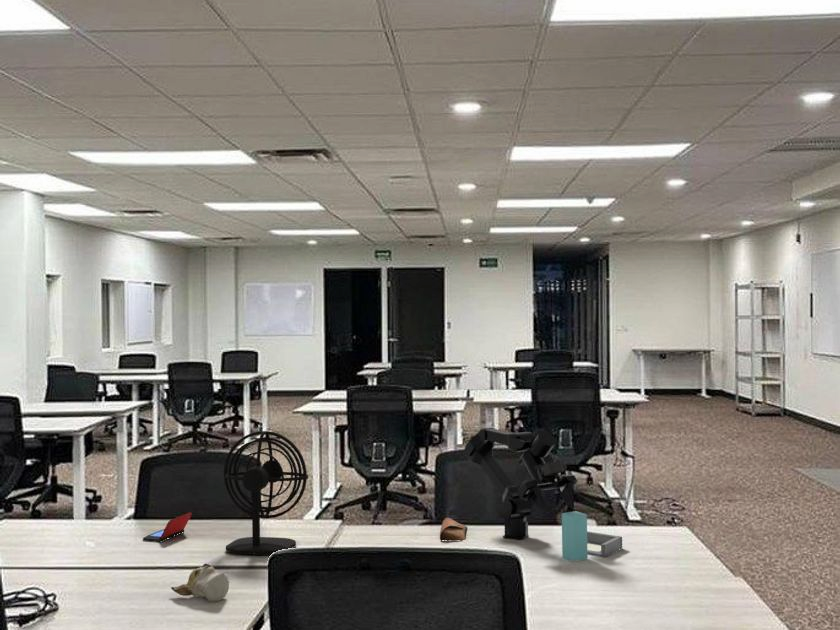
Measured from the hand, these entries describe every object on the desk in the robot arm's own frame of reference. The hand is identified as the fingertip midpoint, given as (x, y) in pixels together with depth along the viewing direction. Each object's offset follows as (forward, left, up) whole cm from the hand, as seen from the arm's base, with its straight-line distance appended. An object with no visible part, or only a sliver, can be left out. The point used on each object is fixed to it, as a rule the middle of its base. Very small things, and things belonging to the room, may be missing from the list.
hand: (560, 510), depth 248 cm
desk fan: (-85, -27, -13) cm, 90 cm away
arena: (+8, +6, -12) cm, 16 cm away
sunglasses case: (-37, +9, -13) cm, 41 cm away
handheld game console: (-122, -27, -13) cm, 125 cm away
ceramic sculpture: (-72, -71, -13) cm, 102 cm away
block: (+5, -4, -12) cm, 14 cm away
